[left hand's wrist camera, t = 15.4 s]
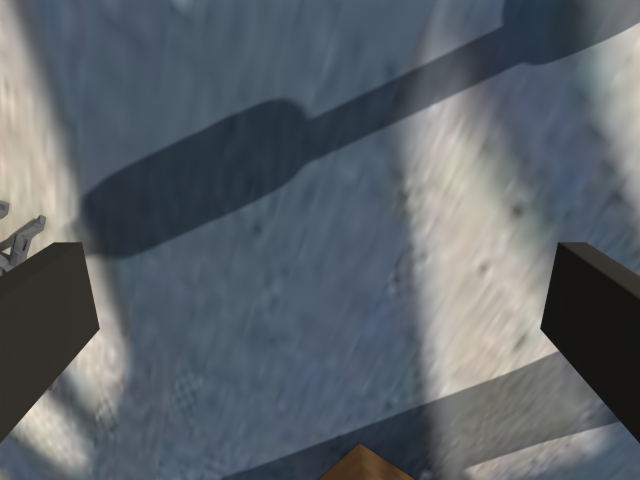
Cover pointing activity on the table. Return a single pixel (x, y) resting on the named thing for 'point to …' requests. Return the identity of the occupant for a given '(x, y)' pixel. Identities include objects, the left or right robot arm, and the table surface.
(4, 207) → the toy
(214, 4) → the table surface
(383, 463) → the box
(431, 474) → the table surface
